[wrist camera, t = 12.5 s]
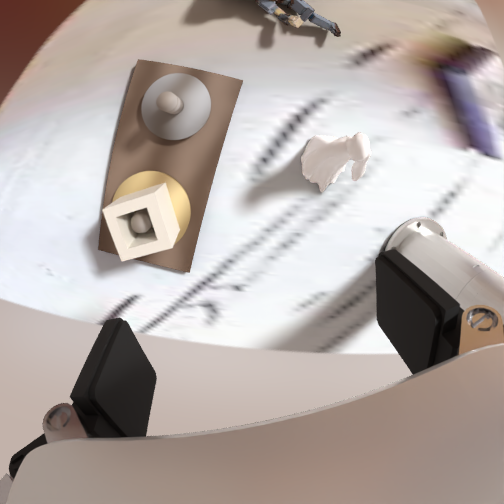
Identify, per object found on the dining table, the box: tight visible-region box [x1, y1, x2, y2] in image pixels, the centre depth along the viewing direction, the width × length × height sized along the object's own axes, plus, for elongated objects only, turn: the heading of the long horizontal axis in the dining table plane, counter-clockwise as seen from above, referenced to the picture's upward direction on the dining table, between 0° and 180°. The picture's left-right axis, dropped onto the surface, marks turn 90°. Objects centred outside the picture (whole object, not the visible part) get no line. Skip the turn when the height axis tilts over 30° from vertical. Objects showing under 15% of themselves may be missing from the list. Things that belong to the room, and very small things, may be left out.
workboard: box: [98, 59, 243, 273], centre depth 31 cm, size 13×25×8 cm, turn 163°
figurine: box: [301, 132, 371, 192], centre depth 31 cm, size 8×8×12 cm
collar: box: [103, 182, 180, 261], centre depth 32 cm, size 6×6×6 cm
